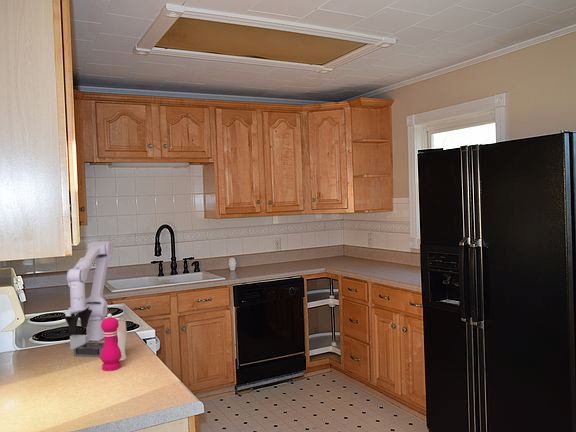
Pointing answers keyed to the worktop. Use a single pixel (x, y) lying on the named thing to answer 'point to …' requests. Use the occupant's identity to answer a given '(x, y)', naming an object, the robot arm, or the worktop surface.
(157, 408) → the worktop surface
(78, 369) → the worktop surface
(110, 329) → the pepper mill
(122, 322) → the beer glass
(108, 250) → the robot arm
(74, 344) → the panel
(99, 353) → the rack
